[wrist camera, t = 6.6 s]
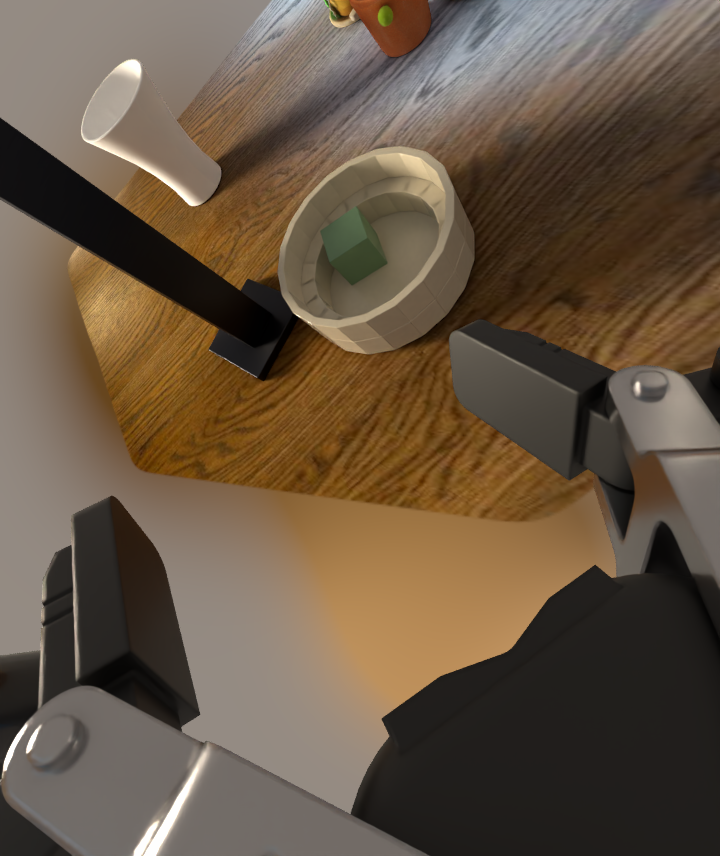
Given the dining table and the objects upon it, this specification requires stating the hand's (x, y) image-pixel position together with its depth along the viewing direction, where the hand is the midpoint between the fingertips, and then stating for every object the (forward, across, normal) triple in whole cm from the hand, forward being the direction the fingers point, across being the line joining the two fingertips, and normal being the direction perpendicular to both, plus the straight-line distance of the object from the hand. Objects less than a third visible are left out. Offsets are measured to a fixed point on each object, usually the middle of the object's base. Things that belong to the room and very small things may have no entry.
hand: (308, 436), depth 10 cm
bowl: (+30, -18, +10) cm, 36 cm away
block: (+32, -18, +9) cm, 38 cm away
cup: (+64, -12, +4) cm, 65 cm away
